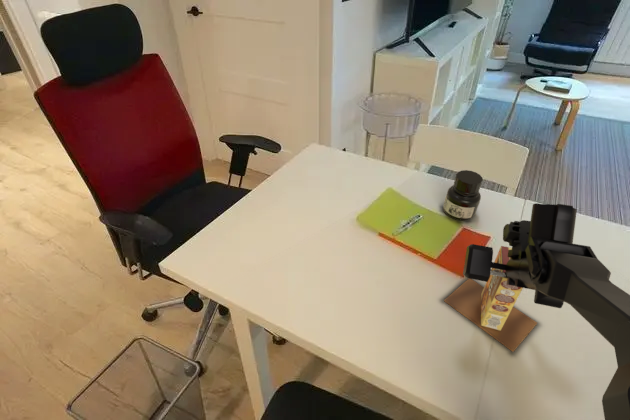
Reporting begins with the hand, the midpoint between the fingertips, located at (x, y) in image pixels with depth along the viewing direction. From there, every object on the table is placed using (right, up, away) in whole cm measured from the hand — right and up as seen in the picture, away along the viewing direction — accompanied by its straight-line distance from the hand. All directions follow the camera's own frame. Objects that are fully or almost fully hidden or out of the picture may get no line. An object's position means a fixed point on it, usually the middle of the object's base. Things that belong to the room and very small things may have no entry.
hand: (506, 269), depth 74 cm
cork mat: (0, -10, +7) cm, 12 cm away
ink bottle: (+3, +11, +34) cm, 35 cm away
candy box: (0, -10, +6) cm, 12 cm away
